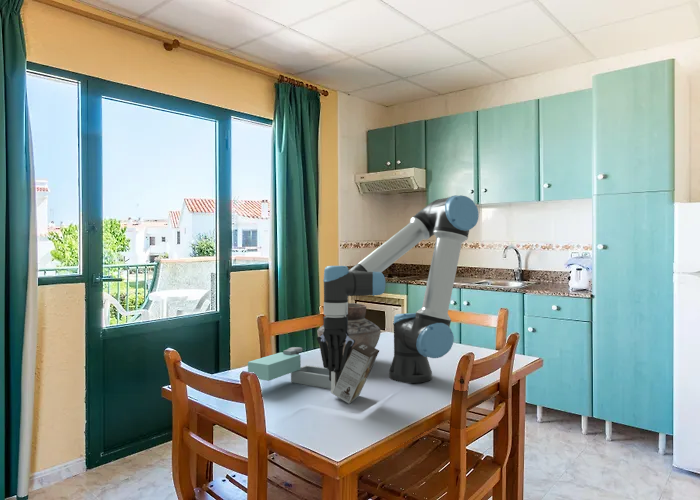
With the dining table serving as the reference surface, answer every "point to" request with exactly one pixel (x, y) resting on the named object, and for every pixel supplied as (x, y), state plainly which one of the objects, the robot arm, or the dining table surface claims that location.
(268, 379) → the lid
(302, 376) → the grey box
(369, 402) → the dining table surface
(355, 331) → the ceramic pot
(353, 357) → the coffee box
